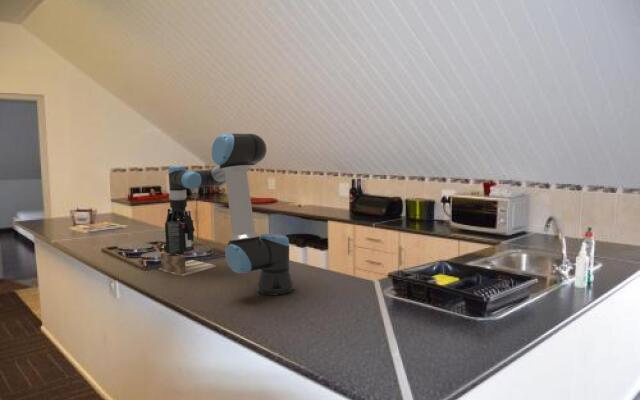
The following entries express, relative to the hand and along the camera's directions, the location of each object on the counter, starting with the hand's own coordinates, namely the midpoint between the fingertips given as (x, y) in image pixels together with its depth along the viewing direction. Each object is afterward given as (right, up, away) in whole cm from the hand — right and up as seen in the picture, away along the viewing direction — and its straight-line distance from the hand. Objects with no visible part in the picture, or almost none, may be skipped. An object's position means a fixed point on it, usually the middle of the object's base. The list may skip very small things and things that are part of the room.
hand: (180, 245), depth 231 cm
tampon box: (0, -3, 0) cm, 3 cm away
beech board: (+2, -12, +5) cm, 13 cm away
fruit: (+21, -8, +36) cm, 42 cm away
